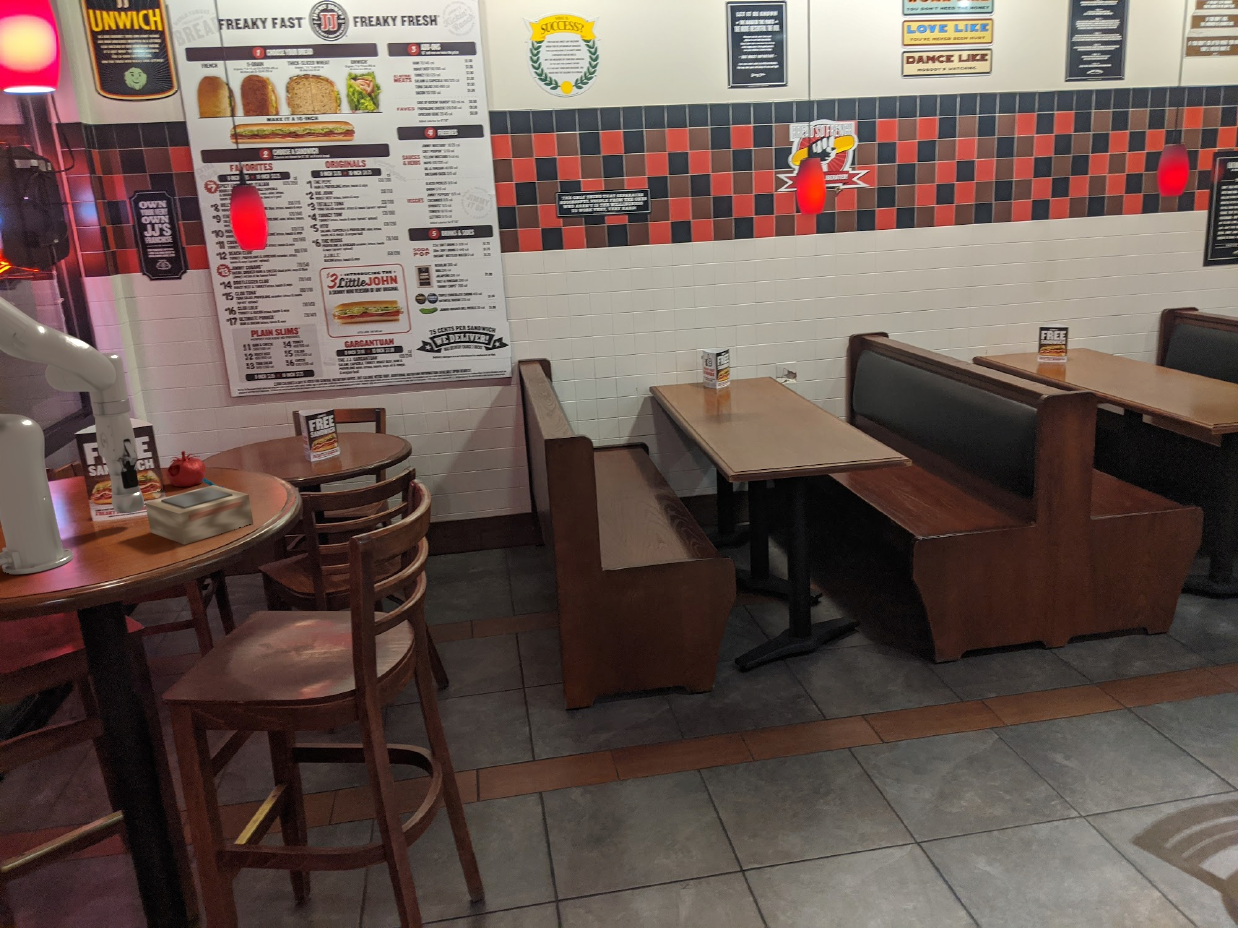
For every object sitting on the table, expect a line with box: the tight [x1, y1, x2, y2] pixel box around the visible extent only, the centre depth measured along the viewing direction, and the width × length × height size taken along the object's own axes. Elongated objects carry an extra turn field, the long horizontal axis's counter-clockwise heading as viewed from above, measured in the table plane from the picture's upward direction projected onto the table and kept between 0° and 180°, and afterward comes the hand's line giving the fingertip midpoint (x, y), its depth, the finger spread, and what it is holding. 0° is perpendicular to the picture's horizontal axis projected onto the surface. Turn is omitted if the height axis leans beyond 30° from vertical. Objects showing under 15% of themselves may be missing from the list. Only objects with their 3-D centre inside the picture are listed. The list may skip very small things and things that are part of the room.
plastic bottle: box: [103, 447, 145, 514], centre depth 211 cm, size 6×7×20 cm
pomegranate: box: [165, 450, 207, 488], centre depth 248 cm, size 10×10×9 cm
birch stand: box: [144, 484, 254, 545], centre depth 208 cm, size 16×16×7 cm
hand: (125, 485), depth 212 cm, fingers closed on plastic bottle, 5 cm apart
